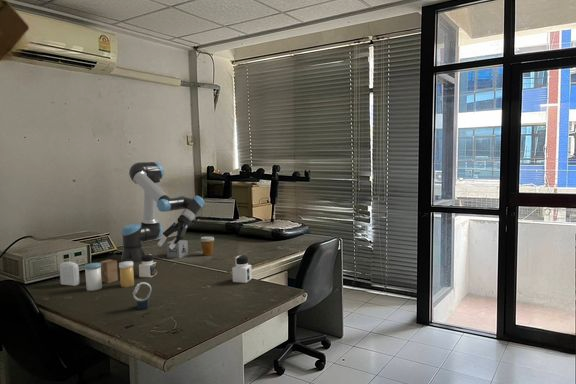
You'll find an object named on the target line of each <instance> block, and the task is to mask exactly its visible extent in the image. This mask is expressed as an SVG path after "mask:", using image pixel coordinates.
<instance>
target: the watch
mask: <svg viewBox="0 0 576 384" xmlns="http://www.w3.org/2000/svg"><path fill="white" fill-rule="evenodd" d="M141 285H146V286H147V287H148V288H149V292H148V294H147V295H146V297H145V298H138V297H137V296H136V295H137V293H138V291H139V290H140V288H141ZM151 293H152V286H151V284H150V283H148V282H145V281H140V282H139V283H136V285H135V287H134V289H133V292H132V293H131V294H132V296H133V298H134V299H135V301H137V302H136V304H137V305H136V306H137V308H136V309H137V311H138V310H139V311H141V310H147V309H149V306H150V304H149V301H150V300H149V299H150V297H151Z"/></svg>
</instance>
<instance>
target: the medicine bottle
mask: <svg viewBox="0 0 576 384" xmlns="http://www.w3.org/2000/svg"><path fill="white" fill-rule="evenodd" d="M157 266H158V265H157V261H154V255H153V254H151V253H148V254H147V253H146V254H145V255H143V256H142V260H141V263H140V264H138V274H139V275H138V276H139V278H153V277H154V276H156V275H157V274H158V269H157V268H158V267H157Z"/></svg>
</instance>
